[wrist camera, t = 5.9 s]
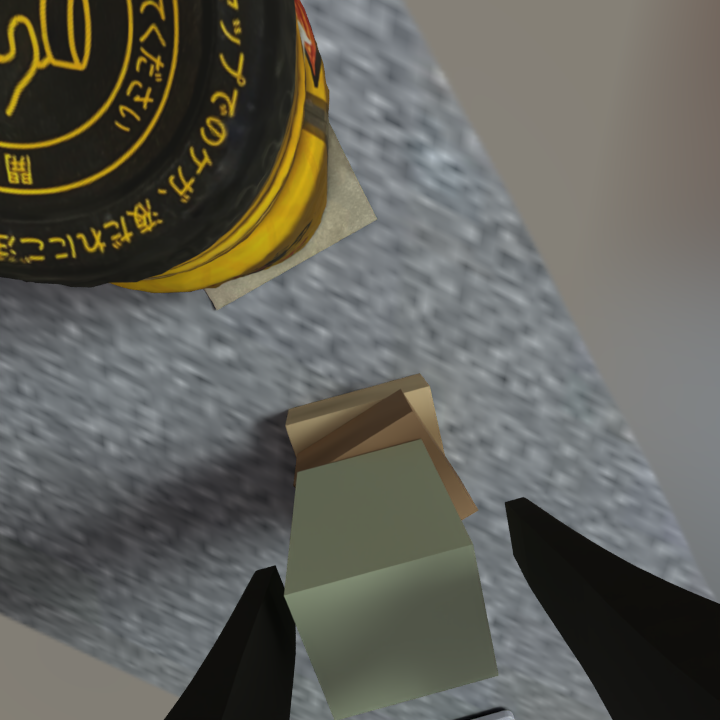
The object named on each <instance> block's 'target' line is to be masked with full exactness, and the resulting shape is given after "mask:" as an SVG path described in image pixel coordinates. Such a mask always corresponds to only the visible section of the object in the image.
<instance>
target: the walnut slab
mask: <svg viewBox="0 0 720 720" xmlns="http://www.w3.org/2000/svg"><path fill="white" fill-rule="evenodd" d="M419 439H422V441H423V444H424V446H425V448H426V450H427V452H428V454H429V456H430V458H431V460H432V462H433V464H434V466H435V468H436V470H437V472H438V474H439V476H440V478H441V480H442V482H443V484H444V486H445V488H446V490H447V492H448V494H449V496H450V498H451V501H452V503H453V505H454V507H455V509H456V511H457V513H458V515H459V517H460V519H461V520H463V519H464V518H466V517H468V516H470V515H471V514H473V513H475V512H476V511H478V509H477V507H476V505H475V504H474V502H473V500H472V498H471V497H470V495H469V493H468V492H467V490H466V488H465V486H464V485H463V483H462V481H461V480H460V478H459V476H458V475H457V473H456V472H455V470H454V469H453V467H452V466H451V464H450V463H449V461H448V460H447V458H446V457H445V455H444V454H443V452H442V451H441V449H440V448H439V446H438V445H437V443H436V441H435V440H434V438H433V437H432V435H431V434H430V432H429V431H428V429H427V428H426V426H425V425H424V423H423V422H422V420H421V419H420V417H419V416H418V414H417V413H416V411H415V410H414V408H413V407H412V405H411V404H410V402H409V401H408V399H407V398H406V396H405V395H404V393H403V392H402V390H401V389H399V390H398V391H396V392H395V393H393V394H391V395H390V396H388V397H387V398H385V399H384V400H382V401H380V402H379V403H377V404H376V405H374V406H372V407H371V408H369V409H368V410H366V411H365V412H363V413H361V414H360V415H358V416H357V417H355V418H353V419H352V420H350V421H349V422H347V423H346V424H344V425H342V426H341V427H339V428H338V429H336V430H334V431H333V432H331V433H330V434H328V435H327V436H325V437H323V438H322V439H320V440H319V441H317V442H315V443H314V444H312V445H311V446H309V447H308V448H306V449H304V450H303V451H301V452H300V453H298V454H297V460H296V468H295V476H294V484H293V486H294V487H295V488H296V481H297V472H300V471H304V470H307V469H311V468H315V467H319V466H322V465H326V464H330V463H334V462H337V461H341V460H345V459H348V458H352V457H356V456H360V455H363V454H367V453H371V452H375V451H378V450H382V449H386V448H390V447H393V446H397V445H401V444H404V443H408V442H412V441H416V440H419Z"/></svg>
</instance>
